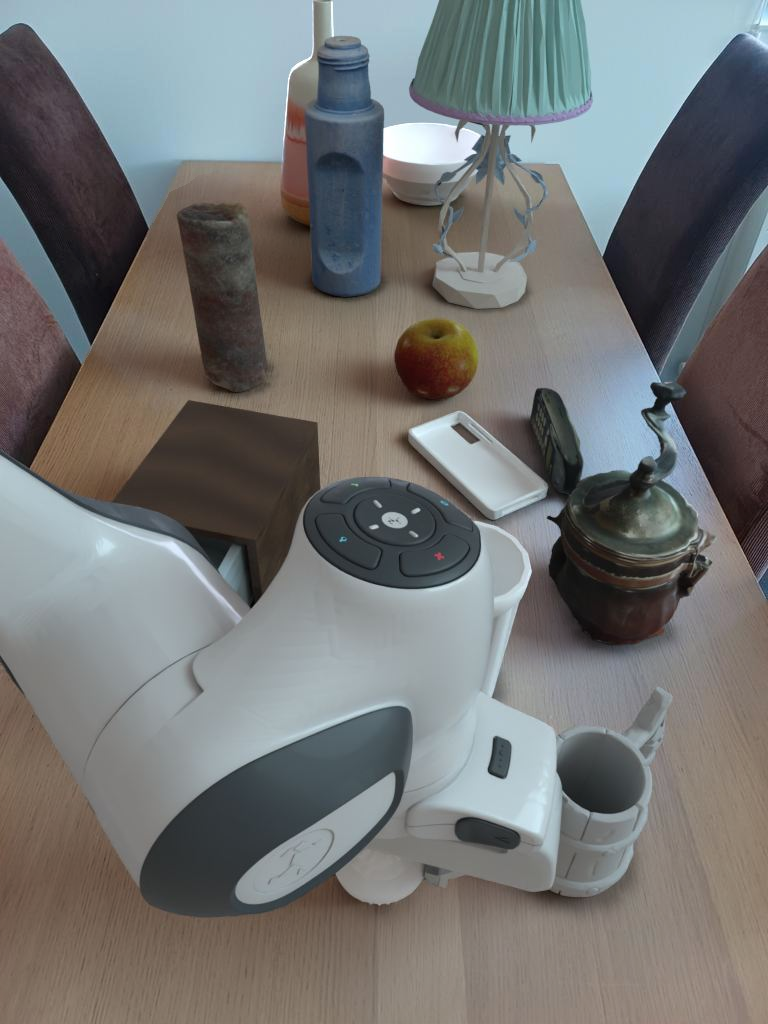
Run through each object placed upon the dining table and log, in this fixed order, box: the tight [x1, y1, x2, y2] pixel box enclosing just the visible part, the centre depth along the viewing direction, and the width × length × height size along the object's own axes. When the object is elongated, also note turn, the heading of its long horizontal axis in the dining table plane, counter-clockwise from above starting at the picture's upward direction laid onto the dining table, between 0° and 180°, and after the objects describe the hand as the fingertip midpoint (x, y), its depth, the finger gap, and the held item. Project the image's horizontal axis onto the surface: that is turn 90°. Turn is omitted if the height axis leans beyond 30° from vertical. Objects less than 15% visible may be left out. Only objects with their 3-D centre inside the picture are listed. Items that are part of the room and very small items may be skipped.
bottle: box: [305, 35, 385, 298], centre depth 102 cm, size 10×10×30 cm
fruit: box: [393, 318, 479, 401], centre depth 91 cm, size 10×9×8 cm
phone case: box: [407, 410, 549, 521], centre depth 83 cm, size 7×1×15 cm
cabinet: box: [111, 399, 321, 609], centre depth 71 cm, size 16×13×10 cm
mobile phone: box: [529, 387, 584, 496], centre depth 83 cm, size 5×3×15 cm
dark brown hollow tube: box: [176, 202, 269, 393], centre depth 88 cm, size 8×7×20 cm
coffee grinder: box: [546, 381, 717, 645], centre depth 65 cm, size 13×15×18 cm
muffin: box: [334, 848, 427, 906], centre depth 50 cm, size 6×6×7 cm
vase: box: [279, 0, 334, 227], centre depth 118 cm, size 14×14×30 cm
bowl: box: [383, 122, 481, 207], centre depth 133 cm, size 19×20×8 cm
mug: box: [548, 686, 673, 898], centre depth 51 cm, size 8×12×12 cm, turn 133°
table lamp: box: [408, 0, 594, 310], centre depth 98 cm, size 22×22×40 cm
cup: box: [472, 520, 533, 698], centre depth 59 cm, size 8×8×14 cm
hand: (380, 858), depth 51 cm, fingers closed on muffin, 6 cm apart
